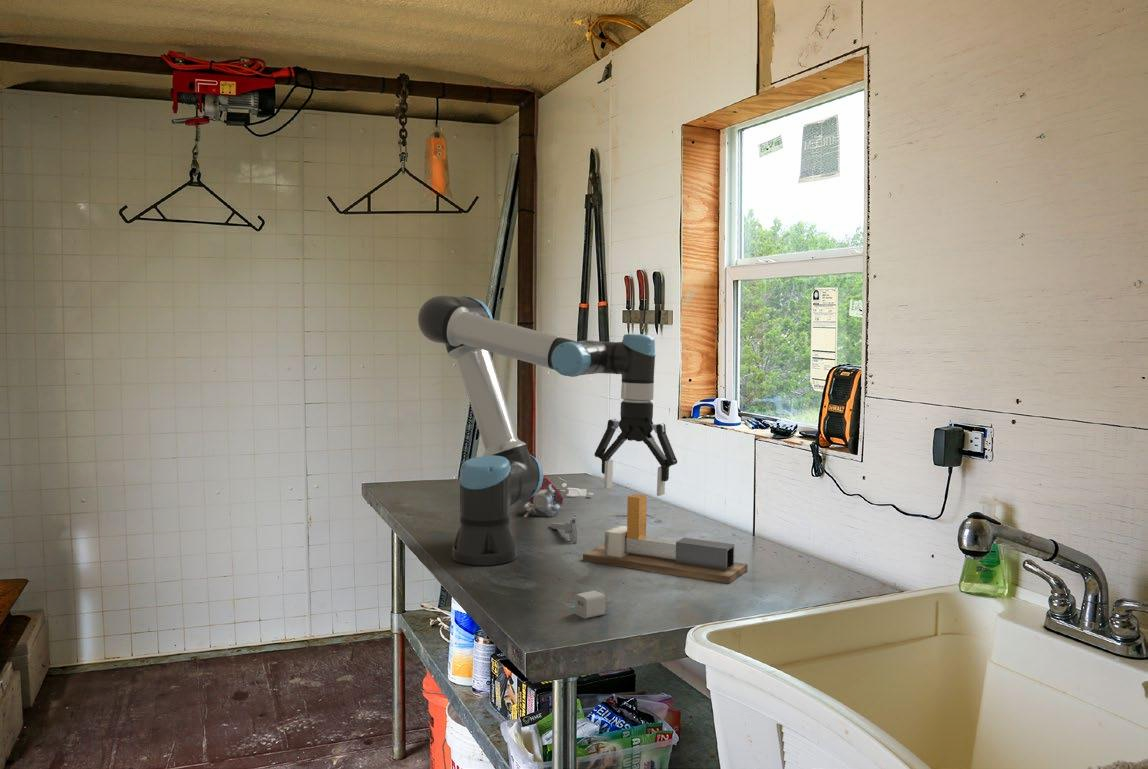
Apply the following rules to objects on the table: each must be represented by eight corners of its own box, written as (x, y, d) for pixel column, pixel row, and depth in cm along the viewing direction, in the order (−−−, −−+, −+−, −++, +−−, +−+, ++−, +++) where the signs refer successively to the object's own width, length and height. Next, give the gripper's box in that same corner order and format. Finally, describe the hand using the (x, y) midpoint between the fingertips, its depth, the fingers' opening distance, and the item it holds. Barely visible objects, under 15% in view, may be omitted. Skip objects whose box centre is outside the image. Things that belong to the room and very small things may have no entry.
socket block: (621, 557, 207) (621, 533, 207) (604, 554, 210) (604, 531, 209) (635, 550, 214) (636, 527, 214) (619, 547, 216) (619, 525, 216)
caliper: (577, 544, 227) (577, 520, 226) (573, 544, 226) (573, 520, 226) (553, 527, 246) (553, 504, 245) (549, 527, 245) (549, 504, 245)
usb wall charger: (574, 613, 171) (574, 593, 171) (603, 607, 175) (603, 587, 175) (586, 619, 168) (586, 598, 168) (615, 613, 172) (616, 592, 172)
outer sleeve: (726, 571, 196) (726, 549, 196) (675, 563, 202) (675, 542, 202) (733, 566, 201) (734, 544, 200) (684, 558, 206) (684, 537, 206)
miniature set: (484, 493, 289) (491, 492, 301) (592, 503, 285) (595, 502, 297) (486, 473, 289) (493, 473, 301) (594, 483, 285) (596, 483, 297)
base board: (729, 583, 192) (729, 576, 192) (582, 560, 210) (582, 554, 210) (747, 570, 203) (747, 564, 203) (606, 549, 220) (606, 543, 220)
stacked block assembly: (701, 563, 200) (702, 505, 199) (613, 550, 210) (614, 494, 210) (707, 559, 203) (709, 502, 202) (621, 546, 214) (621, 492, 213)
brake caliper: (569, 502, 266) (563, 474, 258) (561, 531, 258) (554, 503, 250) (533, 500, 269) (525, 473, 261) (524, 528, 261) (516, 501, 253)
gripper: (693, 403, 205) (689, 495, 206) (597, 396, 217) (594, 482, 219) (680, 405, 198) (677, 500, 200) (582, 398, 210) (579, 487, 212)
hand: (633, 491), depth 209 cm, fingers open, 13 cm apart
